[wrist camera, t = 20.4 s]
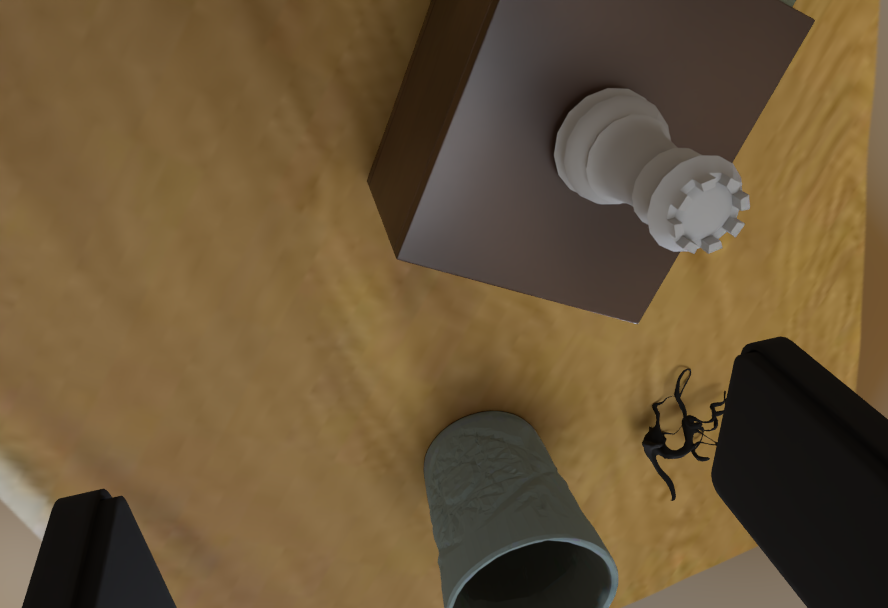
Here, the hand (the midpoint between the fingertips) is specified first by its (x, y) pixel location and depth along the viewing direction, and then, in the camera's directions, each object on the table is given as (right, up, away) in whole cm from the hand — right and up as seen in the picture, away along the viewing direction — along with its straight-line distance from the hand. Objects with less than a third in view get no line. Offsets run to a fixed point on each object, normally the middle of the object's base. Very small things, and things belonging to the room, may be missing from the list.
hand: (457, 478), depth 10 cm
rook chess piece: (+6, +9, +17) cm, 20 cm away
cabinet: (+4, +14, +25) cm, 29 cm away
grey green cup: (+2, -8, +38) cm, 39 cm away
